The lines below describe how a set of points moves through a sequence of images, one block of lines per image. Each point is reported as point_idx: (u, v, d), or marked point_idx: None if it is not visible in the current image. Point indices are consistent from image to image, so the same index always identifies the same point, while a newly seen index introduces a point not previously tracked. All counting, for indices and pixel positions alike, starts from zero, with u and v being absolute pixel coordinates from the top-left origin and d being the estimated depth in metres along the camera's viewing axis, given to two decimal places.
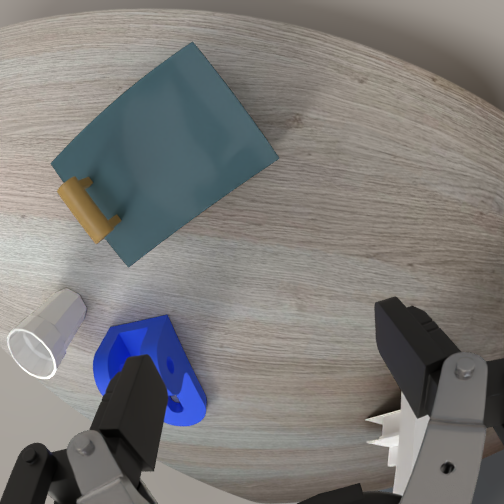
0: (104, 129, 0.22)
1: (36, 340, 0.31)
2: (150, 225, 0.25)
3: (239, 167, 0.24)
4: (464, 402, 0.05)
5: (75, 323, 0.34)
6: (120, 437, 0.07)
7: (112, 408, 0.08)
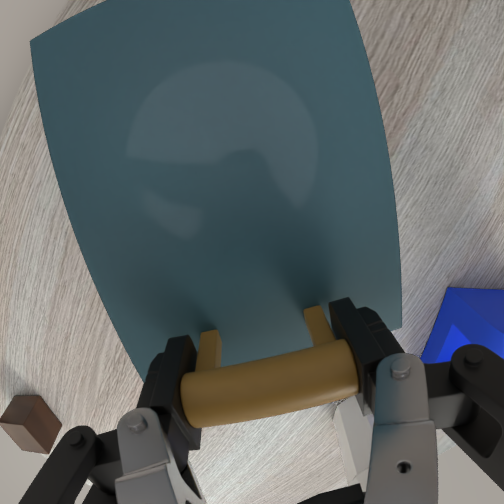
0: (118, 263, 0.11)
1: None
2: (360, 250, 0.11)
3: (324, 16, 0.08)
4: (392, 402, 0.06)
5: None
6: (171, 413, 0.08)
7: (161, 385, 0.08)
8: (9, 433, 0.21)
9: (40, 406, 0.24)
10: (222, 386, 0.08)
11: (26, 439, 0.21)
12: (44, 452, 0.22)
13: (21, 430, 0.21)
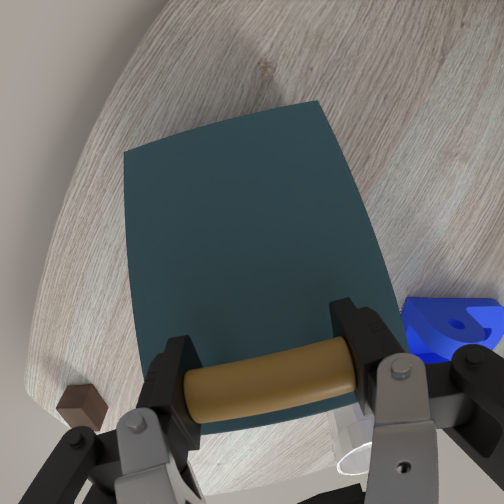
0: (159, 310, 0.14)
1: None
2: (360, 303, 0.13)
3: (314, 141, 0.16)
4: (393, 402, 0.06)
5: None
6: (171, 414, 0.08)
7: (160, 386, 0.08)
8: (65, 417, 0.31)
9: (92, 392, 0.34)
10: (223, 367, 0.09)
11: (80, 420, 0.31)
12: (95, 430, 0.32)
13: (78, 412, 0.31)
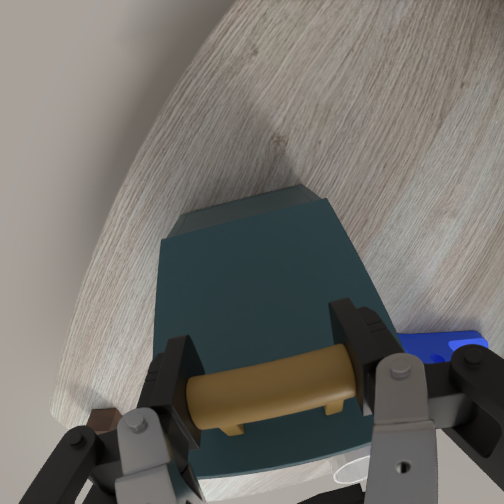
0: None
1: None
2: None
3: (323, 227, 0.19)
4: (392, 402, 0.06)
5: None
6: (171, 413, 0.08)
7: (161, 385, 0.08)
8: None
9: (117, 415, 0.38)
10: (227, 370, 0.10)
11: None
12: None
13: None
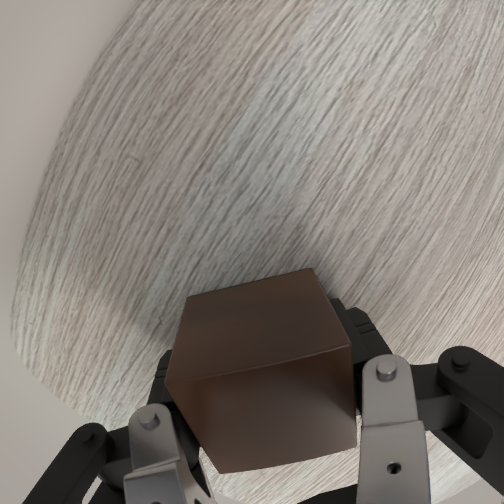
0: None
1: None
2: None
3: None
4: (376, 403, 0.06)
5: None
6: None
7: None
8: (206, 422, 0.07)
9: None
10: None
11: (295, 422, 0.08)
12: (343, 446, 0.08)
13: (310, 380, 0.07)
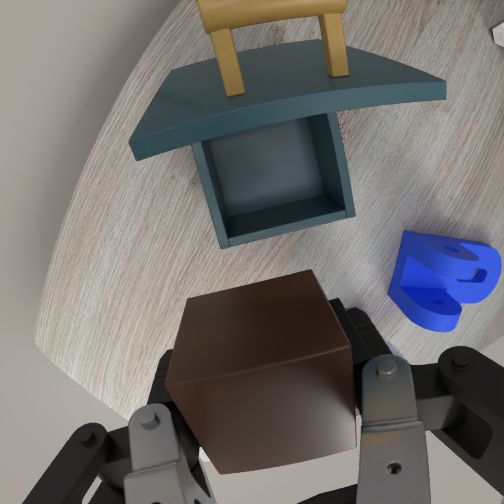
0: (178, 90, 0.14)
1: None
2: (364, 62, 0.12)
3: (316, 43, 0.18)
4: (376, 403, 0.06)
5: None
6: None
7: None
8: (206, 423, 0.07)
9: None
10: None
11: (295, 423, 0.08)
12: (343, 447, 0.08)
13: (310, 381, 0.07)
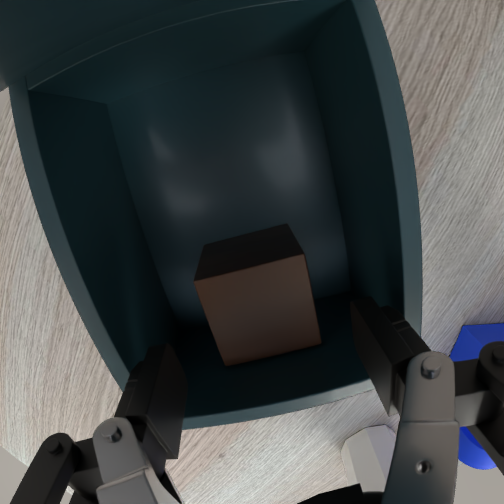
0: None
1: None
2: None
3: None
4: (426, 401, 0.06)
5: None
6: (147, 423, 0.08)
7: (137, 395, 0.08)
8: (217, 313, 0.13)
9: None
10: None
11: (275, 313, 0.13)
12: (311, 341, 0.14)
13: (282, 278, 0.12)
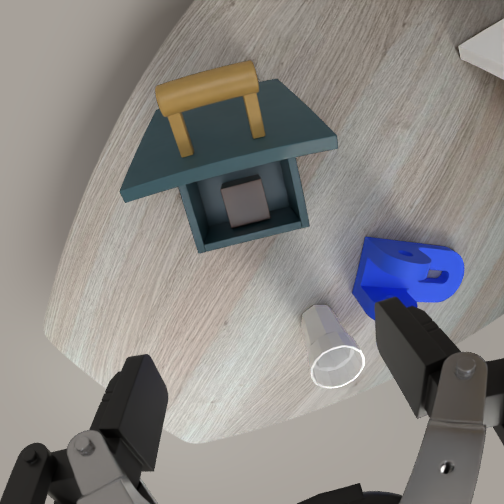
0: (155, 142, 0.20)
1: (329, 361, 0.40)
2: (288, 116, 0.18)
3: (270, 86, 0.25)
4: (464, 402, 0.05)
5: (334, 318, 0.41)
6: (120, 437, 0.07)
7: (112, 408, 0.08)
8: (229, 202, 0.34)
9: None
10: None
11: (251, 203, 0.34)
12: (266, 216, 0.35)
13: (253, 188, 0.34)
